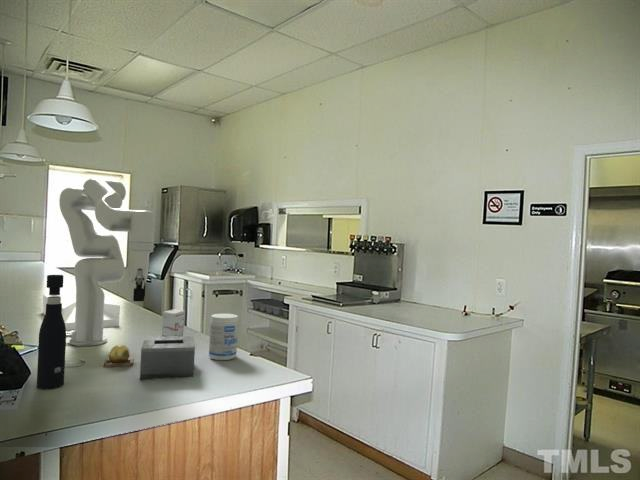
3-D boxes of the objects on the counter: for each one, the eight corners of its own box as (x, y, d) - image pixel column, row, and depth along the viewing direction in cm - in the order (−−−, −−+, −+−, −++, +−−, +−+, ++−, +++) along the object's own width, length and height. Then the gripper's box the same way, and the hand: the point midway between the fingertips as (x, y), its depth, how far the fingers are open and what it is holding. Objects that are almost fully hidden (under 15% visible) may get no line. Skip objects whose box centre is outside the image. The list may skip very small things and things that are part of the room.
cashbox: (139, 379, 129) (141, 348, 129) (143, 364, 144) (145, 336, 144) (193, 377, 134) (194, 347, 134) (192, 362, 148) (193, 335, 148)
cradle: (103, 366, 139) (103, 363, 139) (105, 362, 144) (105, 359, 144) (132, 365, 142) (132, 362, 142) (133, 361, 146) (133, 358, 146)
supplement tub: (227, 362, 151) (229, 319, 150) (203, 358, 153) (205, 316, 153) (241, 355, 160) (243, 314, 160) (217, 352, 163) (219, 312, 162)
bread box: (42, 313, 217) (43, 294, 217) (91, 310, 232) (92, 292, 231) (62, 331, 183) (63, 308, 183) (118, 326, 198) (119, 305, 197)
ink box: (172, 343, 172) (174, 313, 171) (160, 342, 173) (162, 312, 172) (183, 338, 180) (185, 309, 180) (172, 337, 181) (173, 308, 181)
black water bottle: (44, 381, 124) (49, 273, 124) (68, 381, 125) (73, 274, 124) (31, 389, 118) (36, 276, 117) (56, 389, 118) (61, 277, 118)
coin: (128, 365, 142) (129, 346, 142) (108, 365, 141) (108, 346, 141) (129, 362, 145) (130, 344, 145) (109, 363, 143) (110, 344, 143)
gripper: (130, 246, 155) (128, 295, 155) (127, 248, 139) (125, 303, 139) (153, 247, 157) (151, 295, 157) (153, 248, 141) (150, 302, 141)
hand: (139, 299), depth 148 cm, fingers open, 9 cm apart
